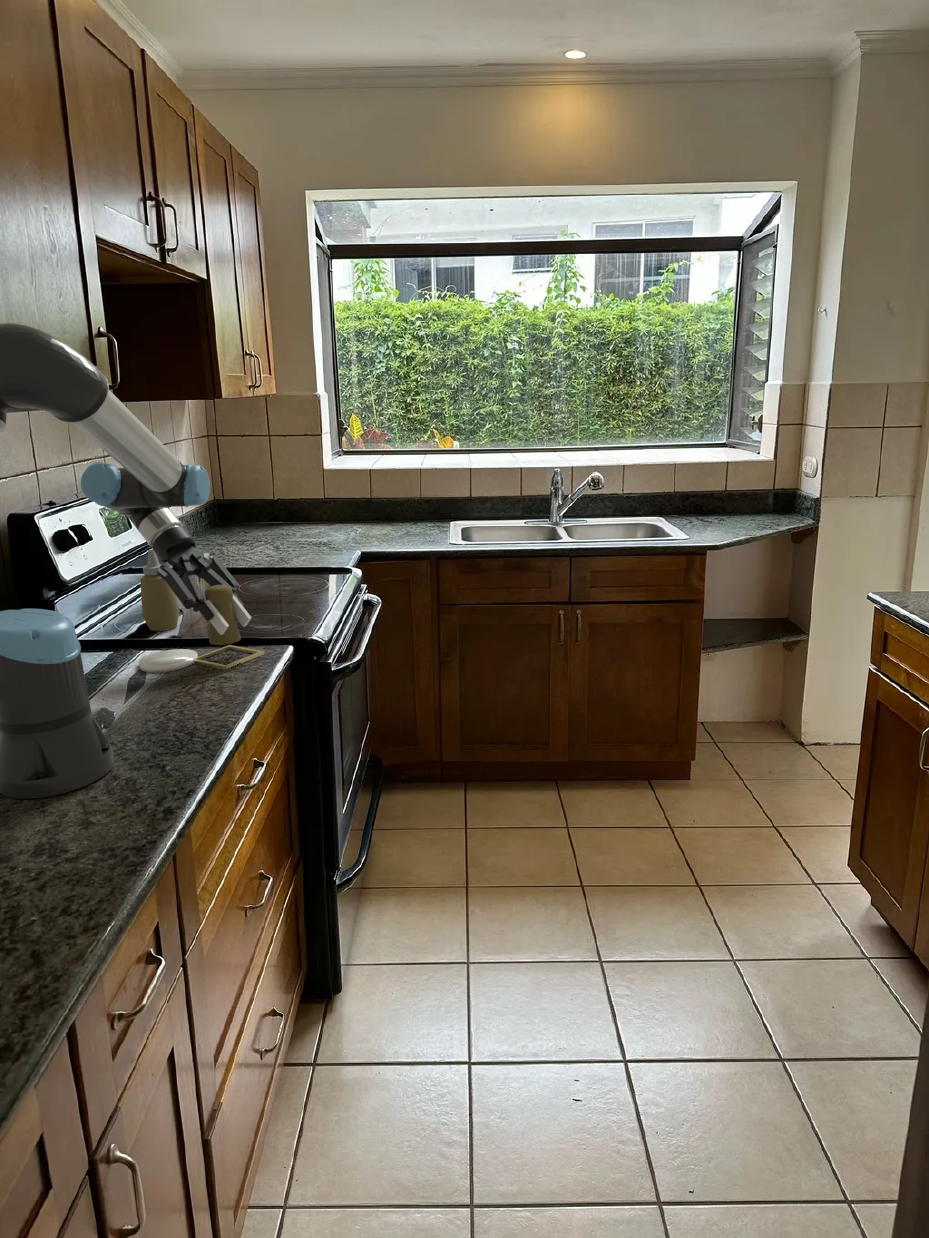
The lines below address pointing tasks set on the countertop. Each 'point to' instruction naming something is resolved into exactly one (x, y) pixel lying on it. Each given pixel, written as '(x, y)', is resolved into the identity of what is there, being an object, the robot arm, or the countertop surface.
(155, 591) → the squeeze bottle
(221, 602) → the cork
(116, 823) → the countertop surface
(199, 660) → the square frame
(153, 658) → the saucer
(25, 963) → the countertop surface
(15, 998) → the countertop surface
